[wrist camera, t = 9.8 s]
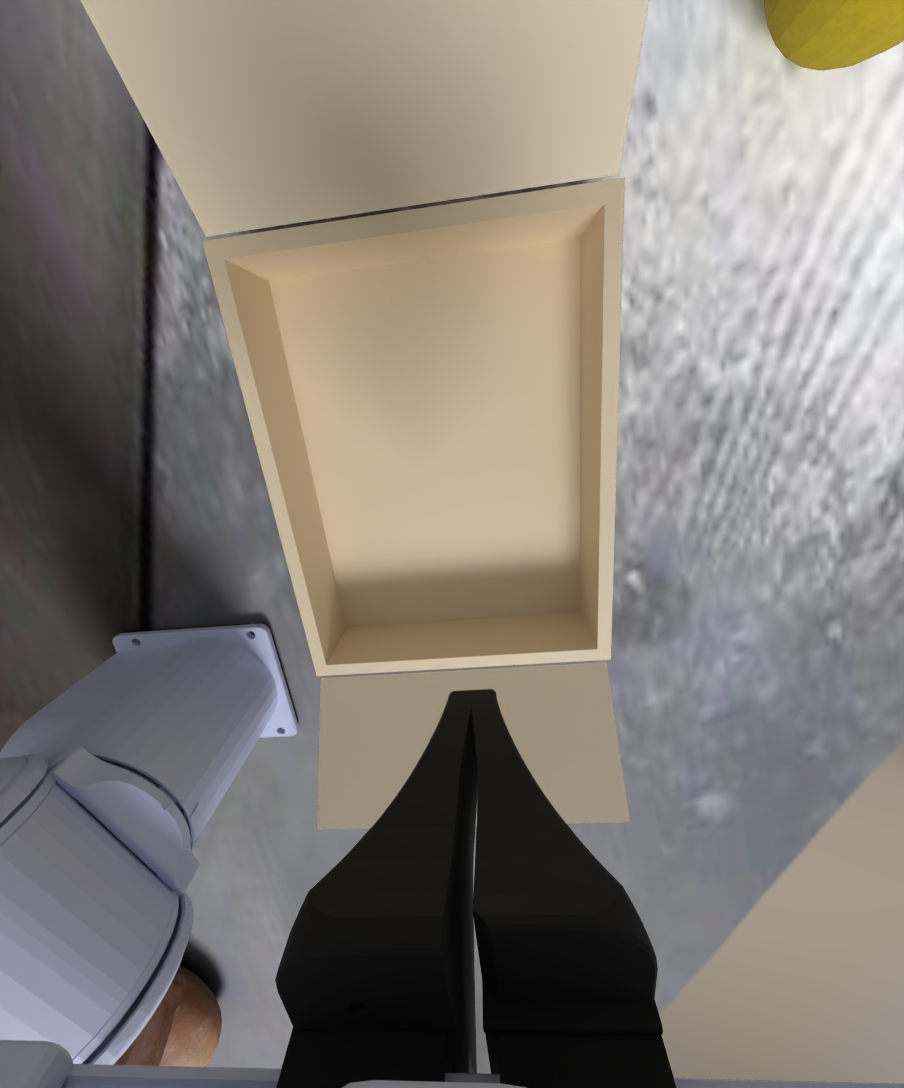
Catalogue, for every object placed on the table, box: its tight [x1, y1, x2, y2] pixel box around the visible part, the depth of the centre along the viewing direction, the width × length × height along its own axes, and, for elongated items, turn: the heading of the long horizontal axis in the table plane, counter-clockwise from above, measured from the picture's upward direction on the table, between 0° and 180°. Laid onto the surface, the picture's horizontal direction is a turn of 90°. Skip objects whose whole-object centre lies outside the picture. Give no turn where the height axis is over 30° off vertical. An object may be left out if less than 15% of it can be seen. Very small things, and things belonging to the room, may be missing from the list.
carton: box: [202, 178, 625, 676], centre depth 19 cm, size 14×18×4 cm
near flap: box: [81, 0, 649, 237], centre depth 11 cm, size 14×6×1 cm
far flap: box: [317, 662, 630, 830], centre depth 19 cm, size 14×6×1 cm
